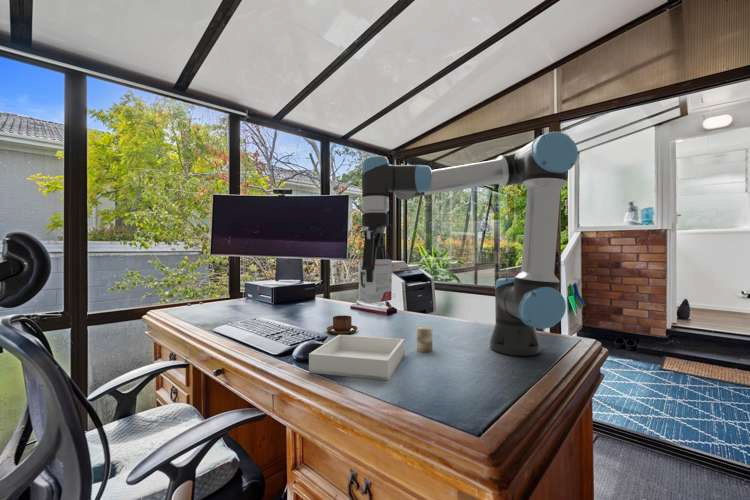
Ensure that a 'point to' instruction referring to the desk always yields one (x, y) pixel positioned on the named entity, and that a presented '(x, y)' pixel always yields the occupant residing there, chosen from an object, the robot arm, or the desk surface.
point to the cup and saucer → (342, 325)
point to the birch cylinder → (424, 339)
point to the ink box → (377, 282)
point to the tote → (358, 357)
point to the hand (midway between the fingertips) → (375, 291)
